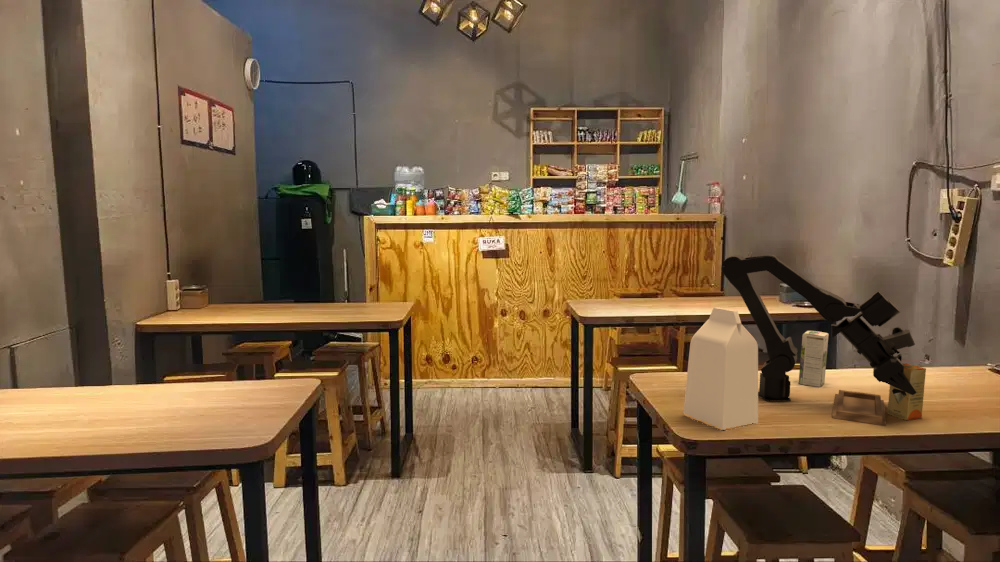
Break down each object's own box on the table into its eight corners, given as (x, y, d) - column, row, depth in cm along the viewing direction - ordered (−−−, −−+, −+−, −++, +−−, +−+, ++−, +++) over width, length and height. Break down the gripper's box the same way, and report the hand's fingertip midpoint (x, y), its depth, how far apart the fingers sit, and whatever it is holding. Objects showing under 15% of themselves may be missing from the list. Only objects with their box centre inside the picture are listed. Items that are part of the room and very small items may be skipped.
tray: (831, 417, 155) (832, 410, 155) (835, 396, 173) (835, 389, 172) (885, 425, 150) (886, 418, 150) (883, 402, 167) (884, 395, 167)
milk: (683, 415, 156) (687, 307, 153) (717, 408, 162) (722, 303, 159) (722, 431, 146) (728, 315, 143) (758, 423, 151) (764, 311, 148)
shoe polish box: (906, 420, 154) (911, 370, 152) (887, 414, 158) (891, 365, 157) (921, 418, 155) (925, 368, 154) (902, 411, 160) (906, 363, 159)
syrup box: (802, 379, 188) (805, 329, 186) (825, 383, 185) (828, 332, 183) (798, 384, 184) (801, 333, 182) (821, 387, 180) (825, 335, 178)
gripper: (894, 324, 148) (949, 378, 144) (891, 312, 164) (940, 360, 160) (852, 354, 152) (904, 408, 149) (853, 339, 169) (900, 387, 165)
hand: (913, 389), depth 155 cm, fingers closed on shoe polish box, 7 cm apart
